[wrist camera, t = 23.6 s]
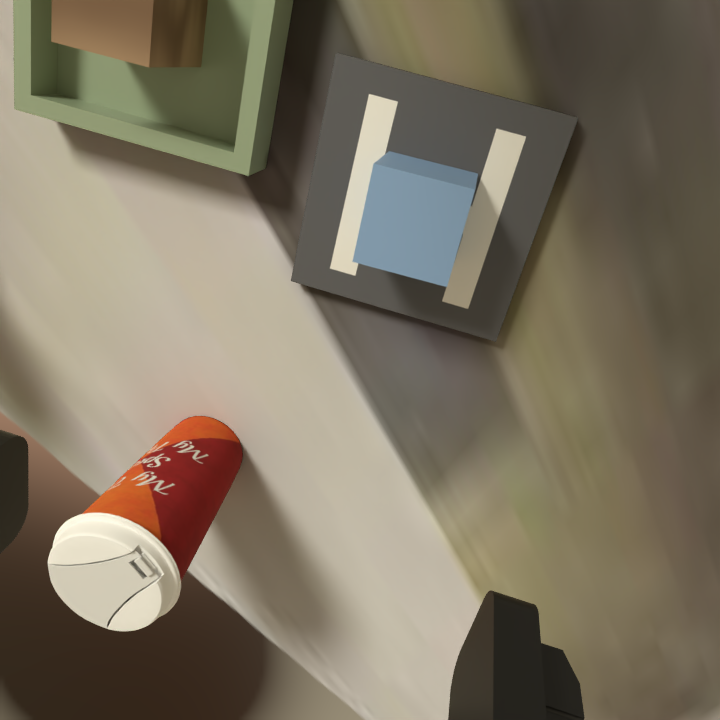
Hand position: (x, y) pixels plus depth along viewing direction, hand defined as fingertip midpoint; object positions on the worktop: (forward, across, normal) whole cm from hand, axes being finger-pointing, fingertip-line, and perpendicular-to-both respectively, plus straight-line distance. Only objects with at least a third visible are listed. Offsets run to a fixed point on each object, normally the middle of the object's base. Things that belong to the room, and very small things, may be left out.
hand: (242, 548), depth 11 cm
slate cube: (+28, 0, 0) cm, 28 cm away
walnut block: (+29, +16, -6) cm, 34 cm away
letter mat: (+30, 0, 0) cm, 30 cm away
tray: (+30, +16, -6) cm, 34 cm away
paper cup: (+30, +10, +22) cm, 38 cm away
